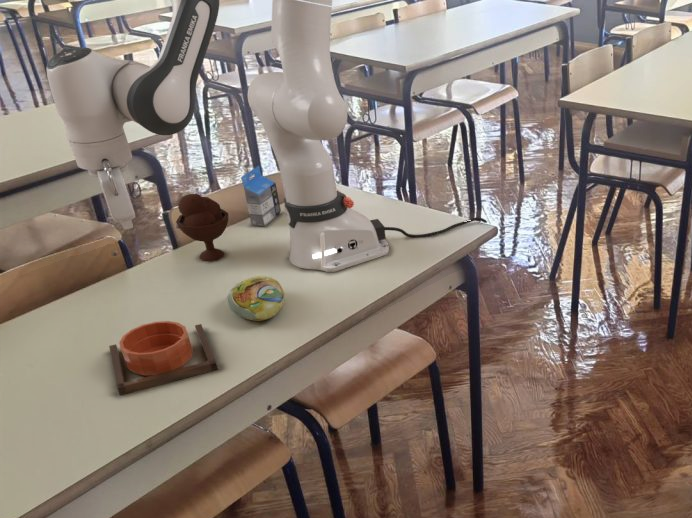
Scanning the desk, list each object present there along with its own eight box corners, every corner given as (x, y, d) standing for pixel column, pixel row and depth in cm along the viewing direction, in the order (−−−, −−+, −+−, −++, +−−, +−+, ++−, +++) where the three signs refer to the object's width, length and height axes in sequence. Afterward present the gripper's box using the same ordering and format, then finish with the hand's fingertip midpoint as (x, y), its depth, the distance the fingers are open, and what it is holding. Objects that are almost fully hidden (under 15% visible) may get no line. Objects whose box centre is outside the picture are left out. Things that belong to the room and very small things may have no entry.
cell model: (286, 277, 159) (284, 284, 145) (284, 314, 161) (281, 324, 147) (232, 272, 157) (224, 278, 142) (230, 309, 158) (222, 319, 144)
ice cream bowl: (223, 268, 168) (206, 204, 160) (177, 264, 170) (159, 200, 162) (245, 248, 177) (231, 186, 168) (202, 244, 179) (186, 183, 170)
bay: (203, 330, 147) (201, 323, 146) (218, 369, 136) (216, 362, 135) (111, 353, 141) (108, 345, 140) (119, 395, 130) (117, 388, 129)
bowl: (187, 338, 145) (181, 315, 142) (198, 367, 137) (191, 343, 134) (124, 353, 140) (116, 330, 137) (132, 384, 132) (123, 360, 129)
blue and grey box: (265, 227, 187) (255, 178, 179) (250, 225, 187) (240, 177, 180) (282, 213, 194) (273, 166, 186) (268, 212, 194) (258, 164, 187)
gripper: (128, 166, 124) (154, 244, 132) (115, 132, 139) (139, 203, 147) (86, 174, 122) (115, 252, 130) (78, 138, 136) (104, 210, 144)
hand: (127, 226), depth 138 cm, fingers closed
